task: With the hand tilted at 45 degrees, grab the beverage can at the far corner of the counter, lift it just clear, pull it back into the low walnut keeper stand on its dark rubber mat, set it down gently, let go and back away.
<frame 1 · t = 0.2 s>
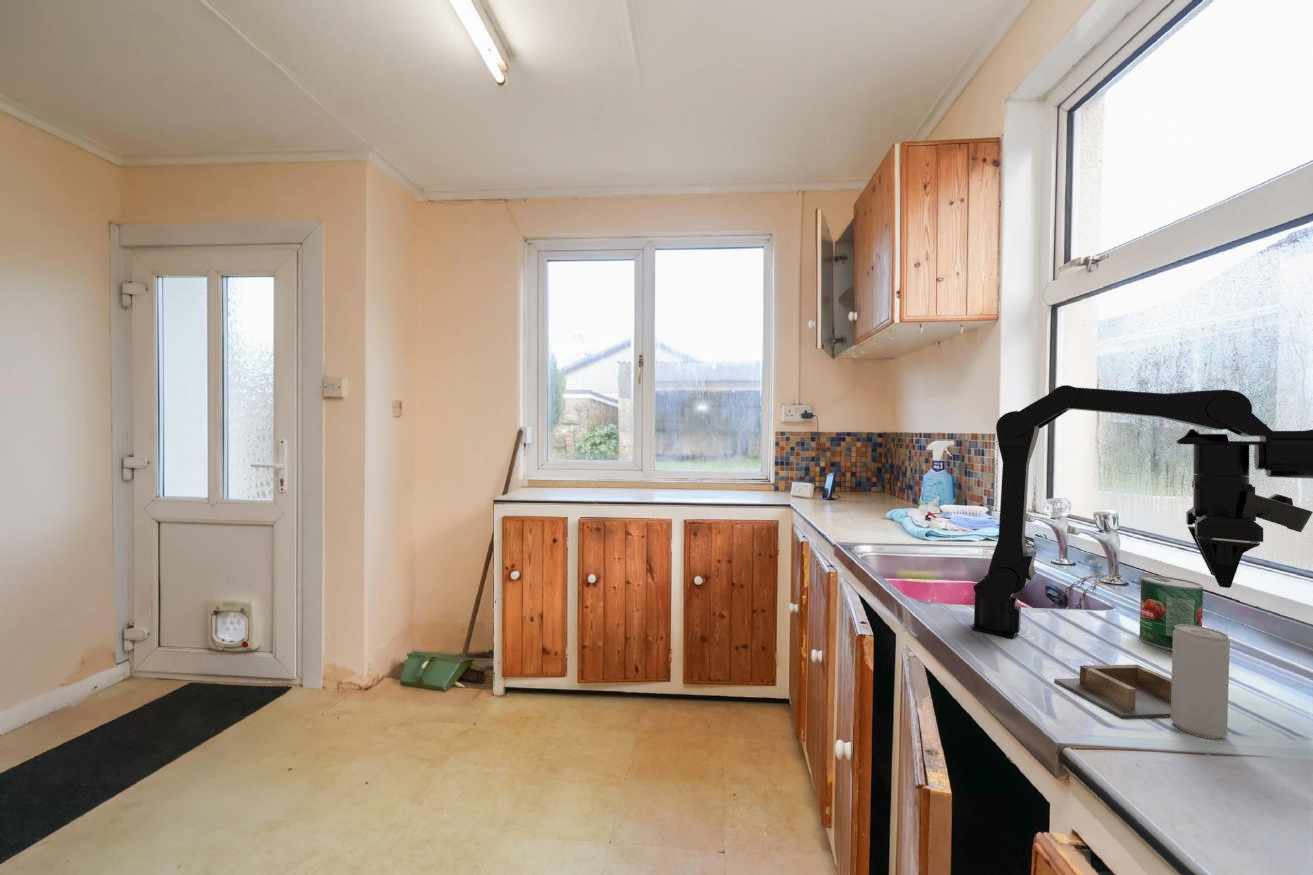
hand: (1220, 581, 79), 15 cm above the worktop, tool pointing down, fingers open, 9 cm apart
beverage can: (1197, 731, 65), on the worktop
canned tomato: (1169, 645, 93), on the worktop
keeper: (1140, 701, 72), on the worktop
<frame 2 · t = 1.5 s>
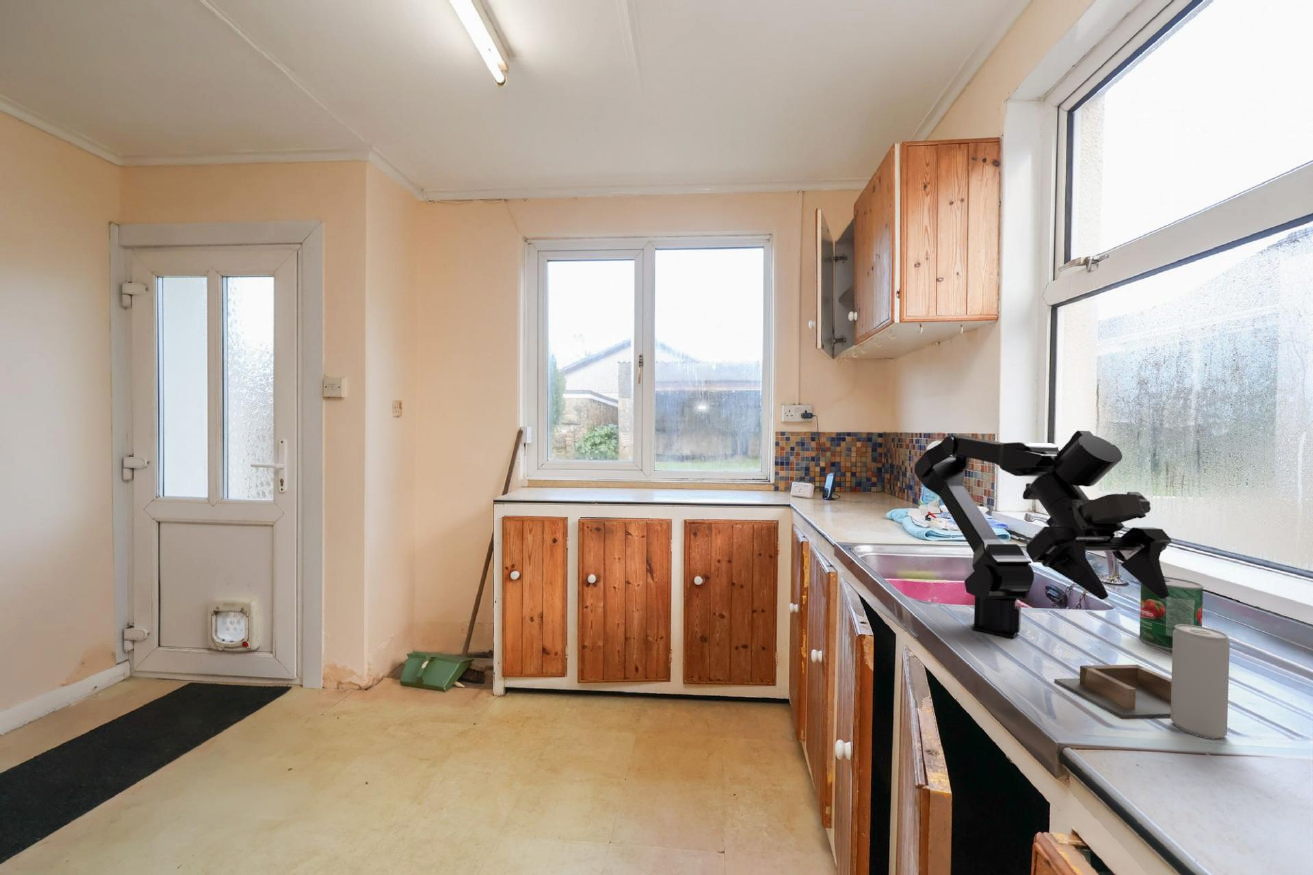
hand: (1135, 598, 73), 14 cm above the worktop, tool tilted 45°, fingers open, 9 cm apart
nothing on the worktop moved.
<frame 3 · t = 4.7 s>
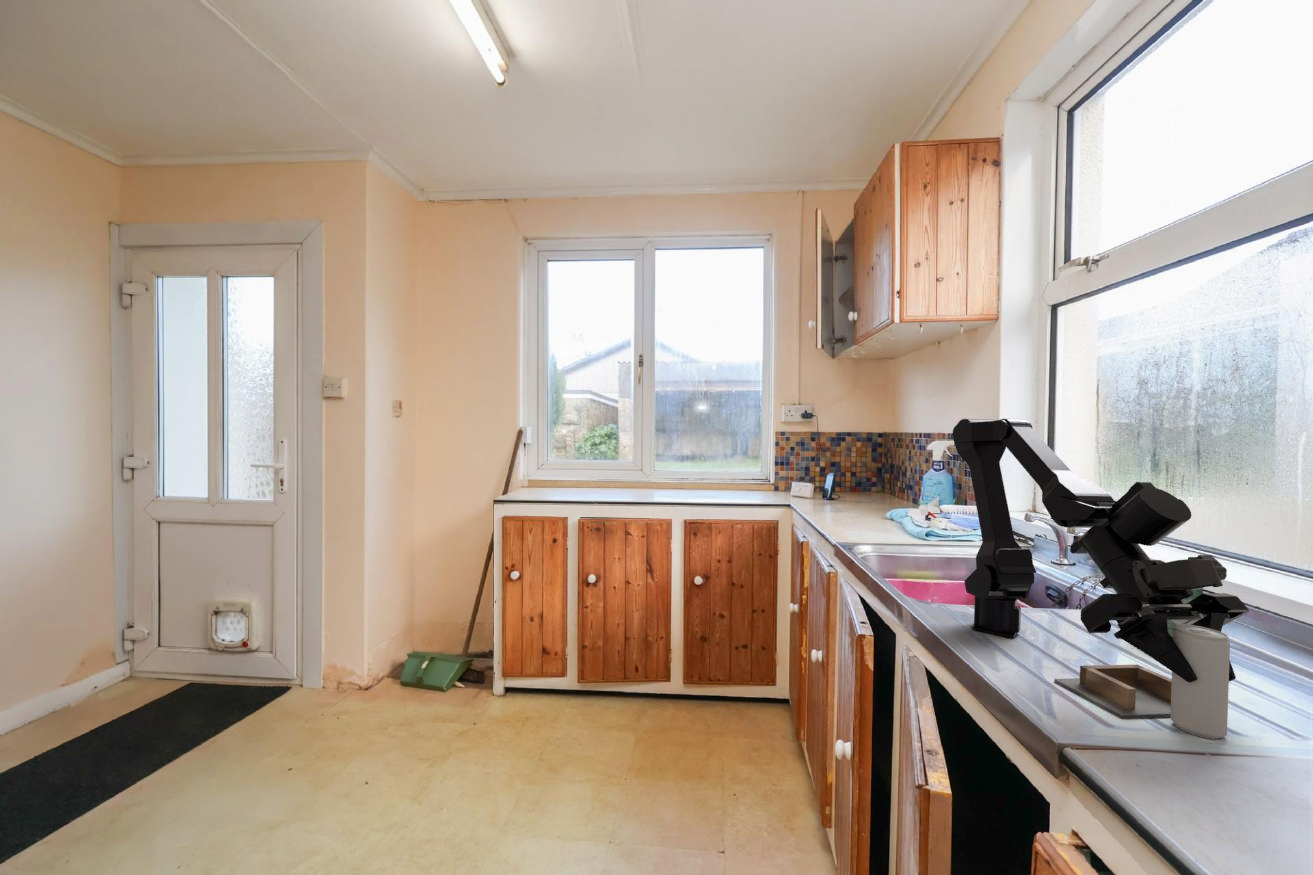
hand: (1212, 680, 63), 7 cm above the worktop, tool tilted 45°, fingers closed on beverage can, 5 cm apart
beverage can: (1197, 731, 65), on the worktop, touching gripper
everything else where it was.
when the fingers open (7 cm above the worktop, at t = 8.2 s): beverage can stays where it is, resting on keeper.
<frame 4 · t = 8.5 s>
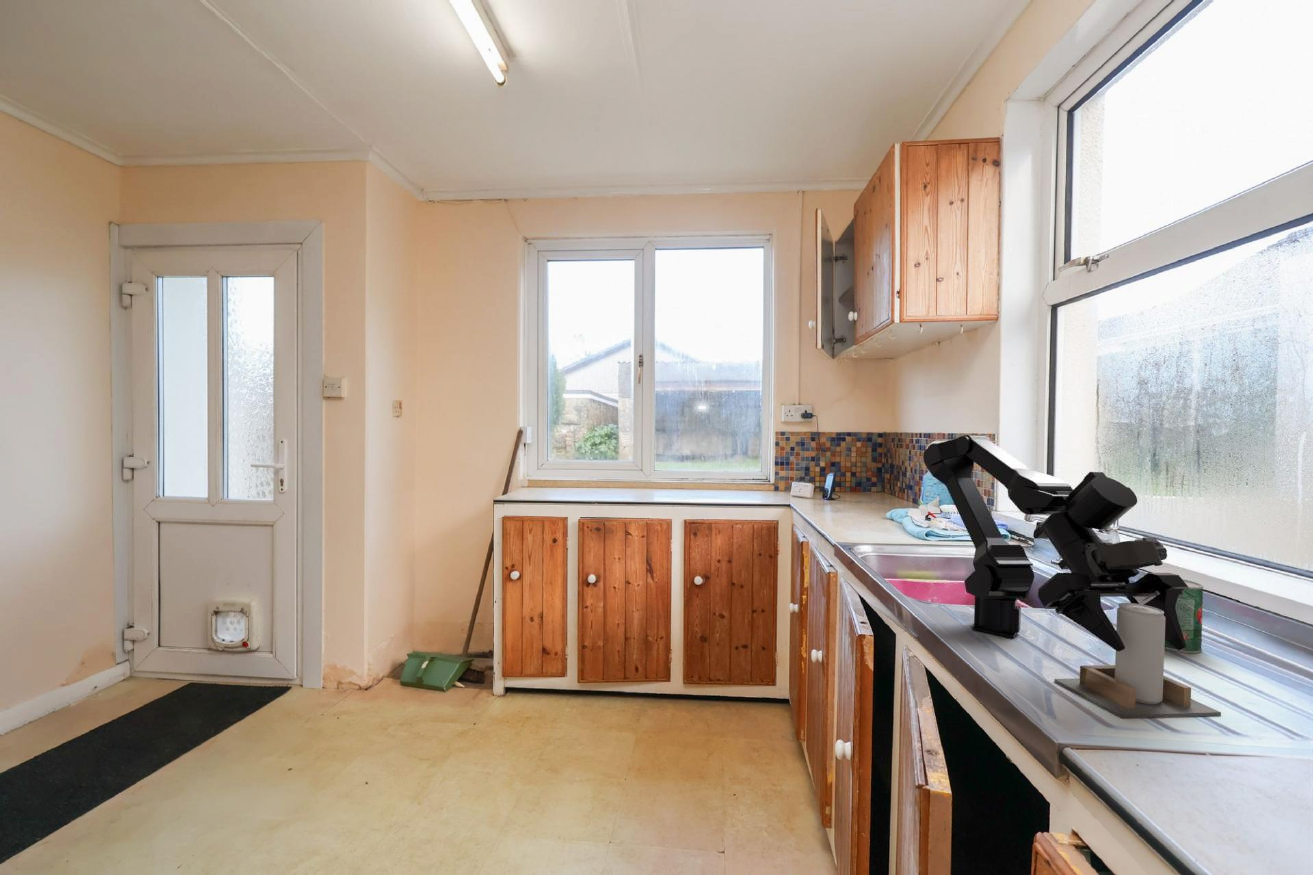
hand: (1152, 649, 70), 7 cm above the worktop, tool tilted 45°, fingers open, 9 cm apart
beverage can: (1137, 698, 72), resting on keeper
everything else where it was.
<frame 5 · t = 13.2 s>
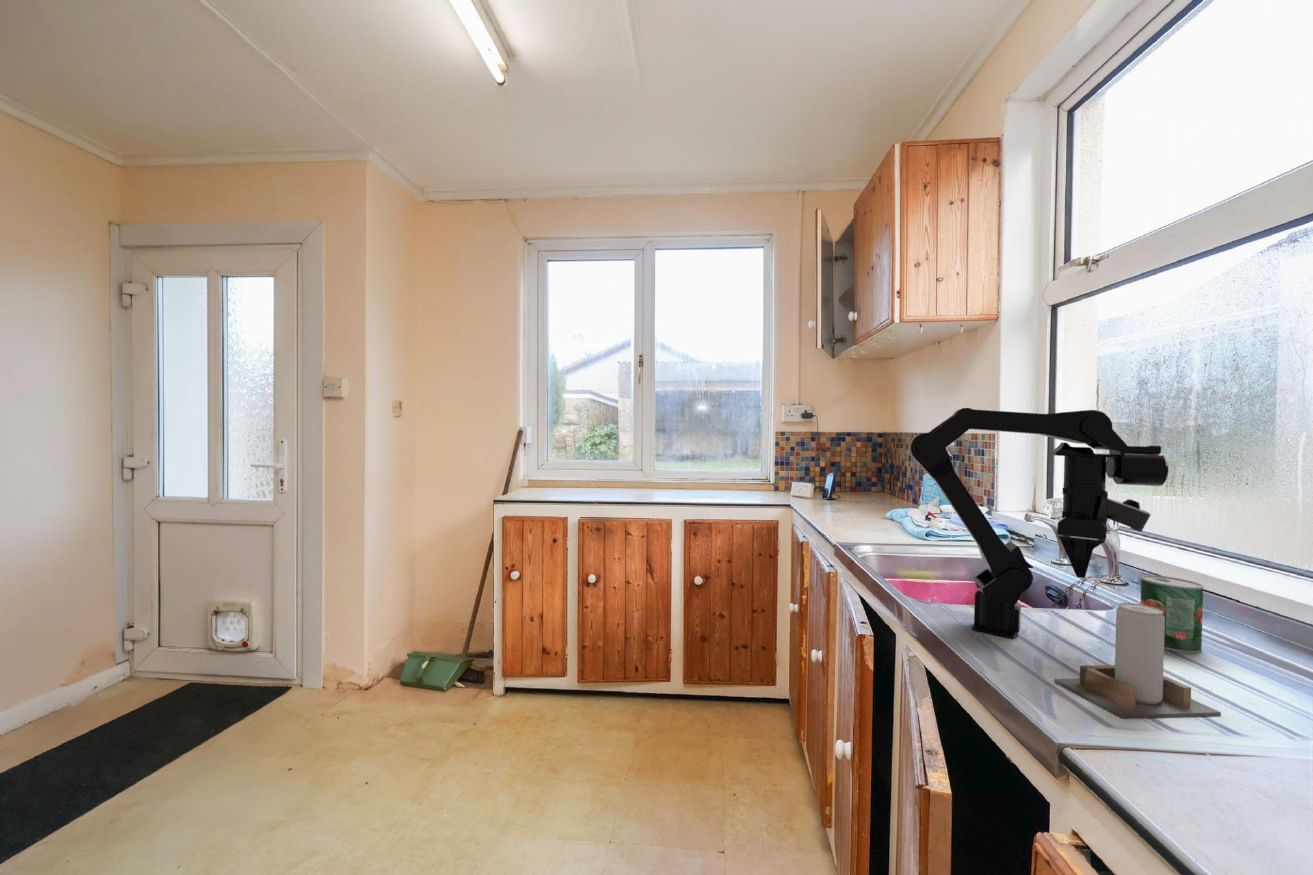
hand: (1081, 572, 93), 12 cm above the worktop, tool pointing down, fingers open, 9 cm apart
nothing on the worktop moved.
at the end: beverage can 0.2 cm off-centre on the keeper, point 0.2 cm above the keeper's base; beverage can tilted 0°; the gripper is holding nothing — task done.
